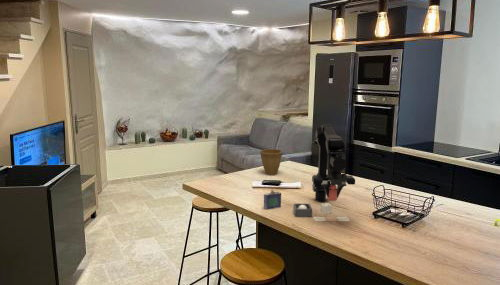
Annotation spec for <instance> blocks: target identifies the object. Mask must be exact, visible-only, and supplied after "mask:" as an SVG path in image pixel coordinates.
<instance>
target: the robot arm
mask: <svg viewBox="0 0 500 285" xmlns="http://www.w3.org/2000/svg"><path fill="white" fill-rule="evenodd" d="M315 140H316V143H317V145H318V167H317V168H318V171H317V173H316V174H314V175H312V177H311V181H312V191H313V192H314V193H315V195H314V200H315V201H316V202H319V203H324V202H325V203H326V201H327V199H328V197H329V192H328V188H329V186H330V185H336V187H337V199H339V197H340V193H341V192H342V190H343V188H344V187H347V185H355V184H356V179H355V177H354V176H353V175H351V174H350V175H347V173H342V172H341V171H342V170H345V168H346V166H347V161H346V159H345V158H343V155H346V152H347V147H346V142H345V140H344V139H343V137H342V136H340V135H337V133H336V131H335V130H334V127H333V125H332V124H322V125H321V126H320V127H318V128H316V131H315Z"/></svg>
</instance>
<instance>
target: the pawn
mask: <svg viewBox="0 0 500 285" xmlns="http://www.w3.org/2000/svg"><path fill="white" fill-rule="evenodd" d="M328 192H329V197H328V198H327V200H328V201H332V202H334V201H335V202H336V201H337V200H338V198H337V185H330V186H329V188H328Z"/></svg>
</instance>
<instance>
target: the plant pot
mask: <svg viewBox="0 0 500 285" xmlns="http://www.w3.org/2000/svg"><path fill="white" fill-rule="evenodd" d="M259 153H260V158H261V163H262V166H263V170H264V173H265V175H266V176H267V175H268V176H275V175H277V174H278V172H279V171H278V170H279V168H280V165H281V160H282V156H283V154H282V153H283V150H281V149H277V148H275V149H274V148H268V149H267V148H266V149H262V150H260V152H259Z"/></svg>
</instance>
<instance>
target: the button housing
mask: <svg viewBox="0 0 500 285" xmlns="http://www.w3.org/2000/svg"><path fill="white" fill-rule="evenodd" d="M300 205H305V206H306V207H307V209H298V207H299V206H300ZM292 206H293V209H292V210H293V215H294V217H296V218H313V208H312V206H311V204H310V203H293V205H292Z"/></svg>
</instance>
